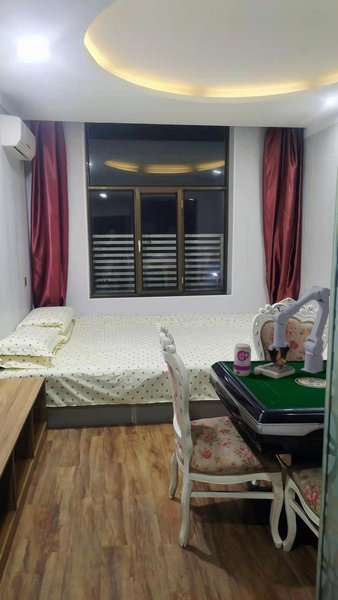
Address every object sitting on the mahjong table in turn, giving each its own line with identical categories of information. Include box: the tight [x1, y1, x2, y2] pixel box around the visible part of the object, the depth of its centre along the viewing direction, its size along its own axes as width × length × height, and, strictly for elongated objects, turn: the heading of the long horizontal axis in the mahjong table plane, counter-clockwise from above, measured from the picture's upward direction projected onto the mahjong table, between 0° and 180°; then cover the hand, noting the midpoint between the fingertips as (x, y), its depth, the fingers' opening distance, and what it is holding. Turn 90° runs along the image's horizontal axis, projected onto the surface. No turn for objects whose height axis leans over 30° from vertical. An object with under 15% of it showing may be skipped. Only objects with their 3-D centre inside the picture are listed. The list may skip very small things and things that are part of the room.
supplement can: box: [233, 343, 252, 377], centre depth 213 cm, size 8×8×15 cm
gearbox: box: [253, 362, 296, 379], centre depth 216 cm, size 19×14×4 cm
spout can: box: [273, 356, 287, 370], centre depth 215 cm, size 5×7×6 cm
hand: (278, 361), depth 216 cm, fingers open, 7 cm apart
